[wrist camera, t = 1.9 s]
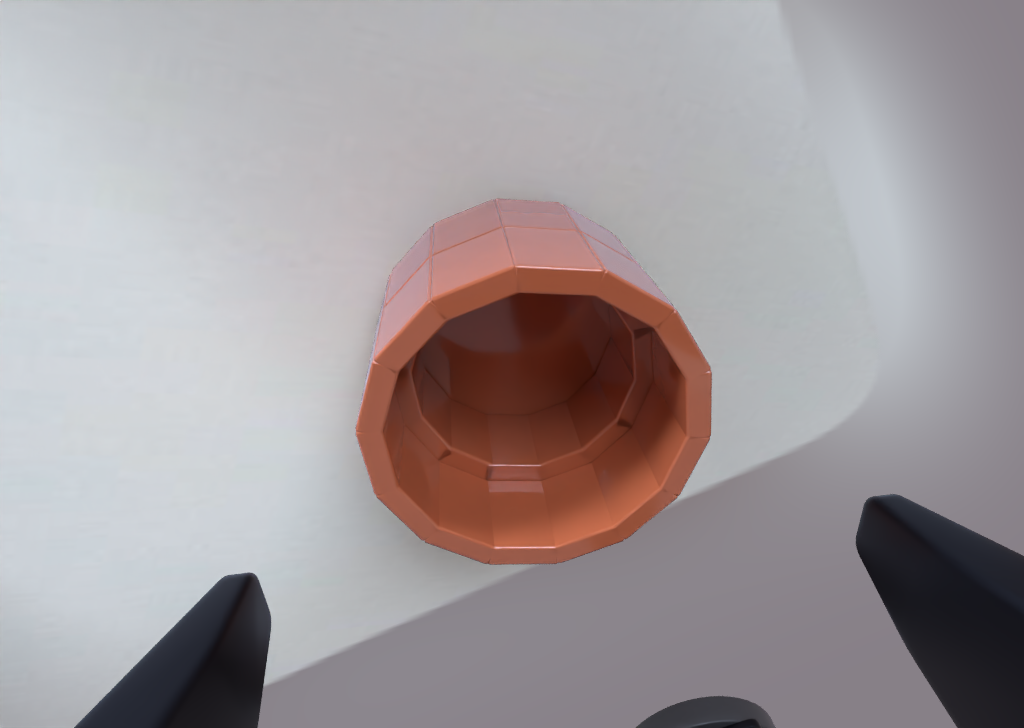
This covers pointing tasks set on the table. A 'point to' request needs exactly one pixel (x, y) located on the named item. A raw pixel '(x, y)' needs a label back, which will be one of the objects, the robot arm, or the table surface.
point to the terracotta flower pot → (529, 388)
